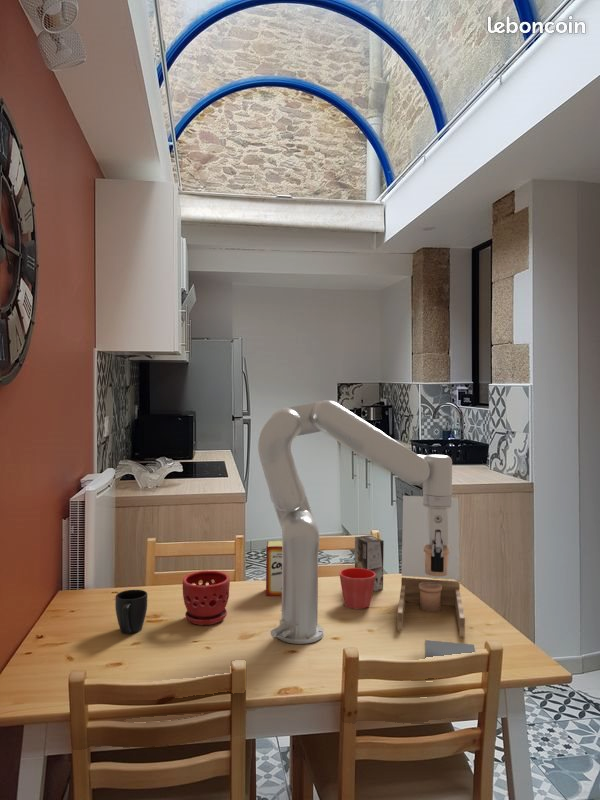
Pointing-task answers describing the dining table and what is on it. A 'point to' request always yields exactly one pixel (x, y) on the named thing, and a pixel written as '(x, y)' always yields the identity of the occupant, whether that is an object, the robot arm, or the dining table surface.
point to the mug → (131, 610)
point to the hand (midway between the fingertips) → (436, 567)
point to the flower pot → (357, 587)
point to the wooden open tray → (448, 597)
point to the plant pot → (206, 597)
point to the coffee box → (370, 557)
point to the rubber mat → (446, 648)
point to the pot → (430, 596)
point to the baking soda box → (274, 568)
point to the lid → (426, 538)
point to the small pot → (428, 560)
